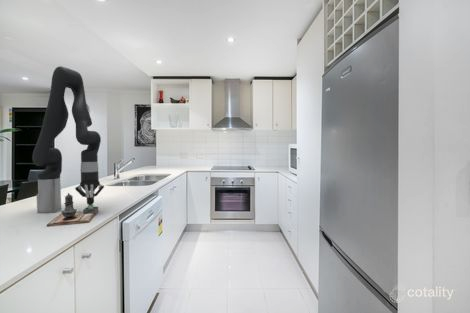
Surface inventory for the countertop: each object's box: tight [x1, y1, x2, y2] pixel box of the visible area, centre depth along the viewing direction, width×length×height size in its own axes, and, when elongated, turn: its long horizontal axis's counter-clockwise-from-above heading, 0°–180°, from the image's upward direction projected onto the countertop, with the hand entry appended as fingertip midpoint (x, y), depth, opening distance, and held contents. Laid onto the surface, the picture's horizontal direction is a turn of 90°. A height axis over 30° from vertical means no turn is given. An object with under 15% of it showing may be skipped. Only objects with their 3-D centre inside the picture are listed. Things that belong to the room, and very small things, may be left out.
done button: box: [87, 204, 95, 209], centre depth 117 cm, size 3×3×3 cm
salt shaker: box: [60, 192, 78, 220], centre depth 106 cm, size 6×6×12 cm
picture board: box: [46, 206, 99, 227], centre depth 111 cm, size 16×18×3 cm
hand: (90, 204), depth 117 cm, fingers closed
